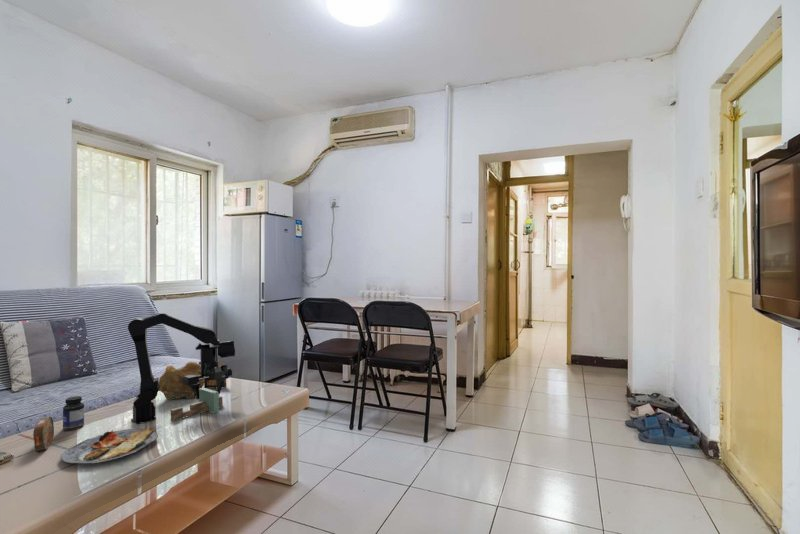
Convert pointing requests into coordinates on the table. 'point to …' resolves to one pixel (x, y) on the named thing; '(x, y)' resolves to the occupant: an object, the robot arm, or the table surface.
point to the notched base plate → (192, 409)
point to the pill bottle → (73, 413)
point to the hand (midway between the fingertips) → (208, 396)
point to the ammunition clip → (212, 382)
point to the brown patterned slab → (43, 434)
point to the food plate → (110, 445)
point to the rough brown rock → (179, 381)
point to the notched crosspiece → (210, 399)
